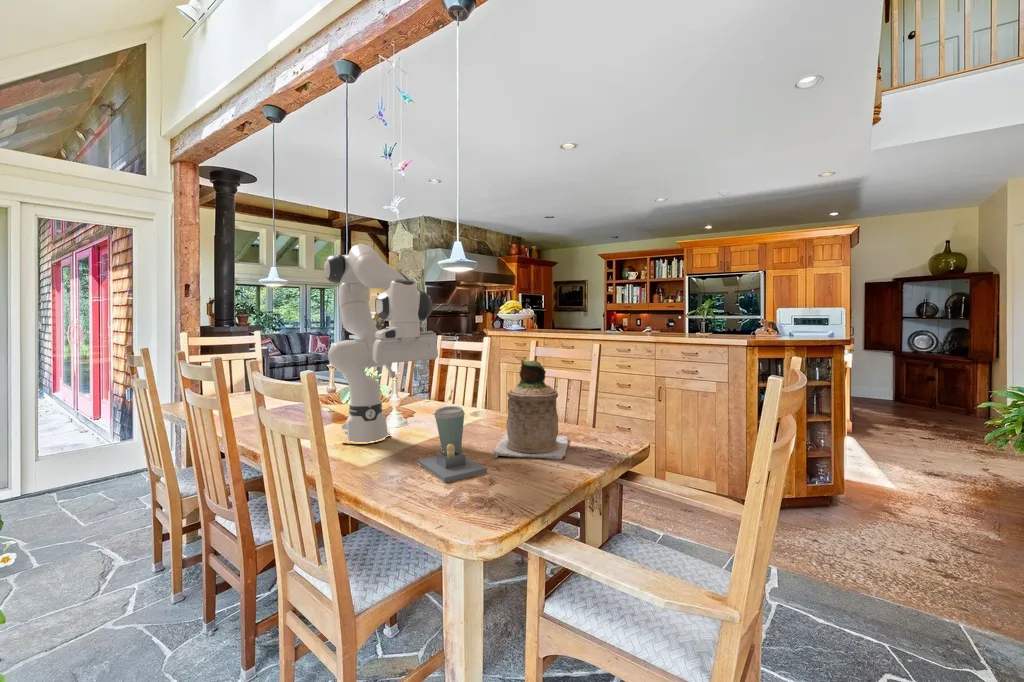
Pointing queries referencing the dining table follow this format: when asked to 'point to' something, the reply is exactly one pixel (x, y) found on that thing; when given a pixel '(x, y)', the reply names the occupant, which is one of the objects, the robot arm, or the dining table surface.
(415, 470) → the dining table surface
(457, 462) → the hollow square frame
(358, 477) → the dining table surface
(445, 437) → the disposable coffee cup
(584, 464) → the dining table surface
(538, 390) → the cookie jar
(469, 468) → the keeper board
